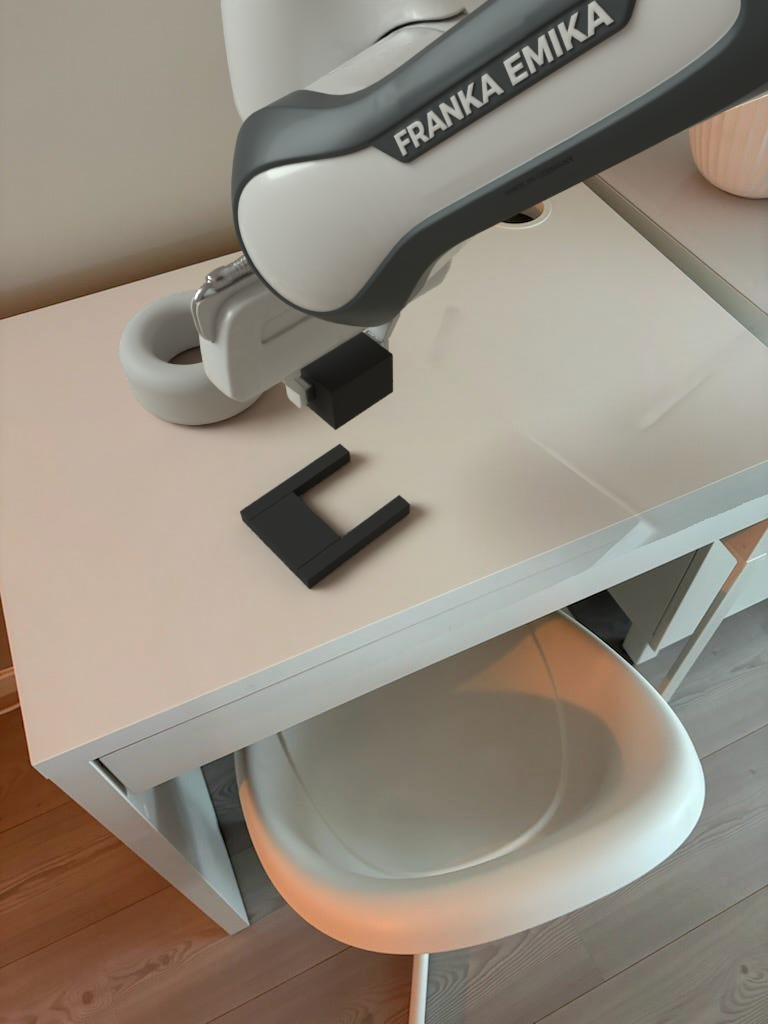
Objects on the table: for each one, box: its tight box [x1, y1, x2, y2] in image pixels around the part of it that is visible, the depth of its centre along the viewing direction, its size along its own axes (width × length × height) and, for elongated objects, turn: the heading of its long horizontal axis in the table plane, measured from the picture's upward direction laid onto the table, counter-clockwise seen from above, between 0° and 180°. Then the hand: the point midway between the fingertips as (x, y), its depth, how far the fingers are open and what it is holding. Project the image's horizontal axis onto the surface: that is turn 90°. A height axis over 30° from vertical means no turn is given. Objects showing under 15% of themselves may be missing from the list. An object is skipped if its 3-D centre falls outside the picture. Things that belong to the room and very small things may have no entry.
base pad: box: [239, 443, 411, 590], centre depth 69 cm, size 10×12×2 cm
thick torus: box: [118, 289, 263, 426], centre depth 78 cm, size 15×15×7 cm
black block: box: [301, 331, 394, 431], centre depth 58 cm, size 6×6×4 cm
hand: (339, 376), depth 58 cm, fingers closed on black block, 6 cm apart
